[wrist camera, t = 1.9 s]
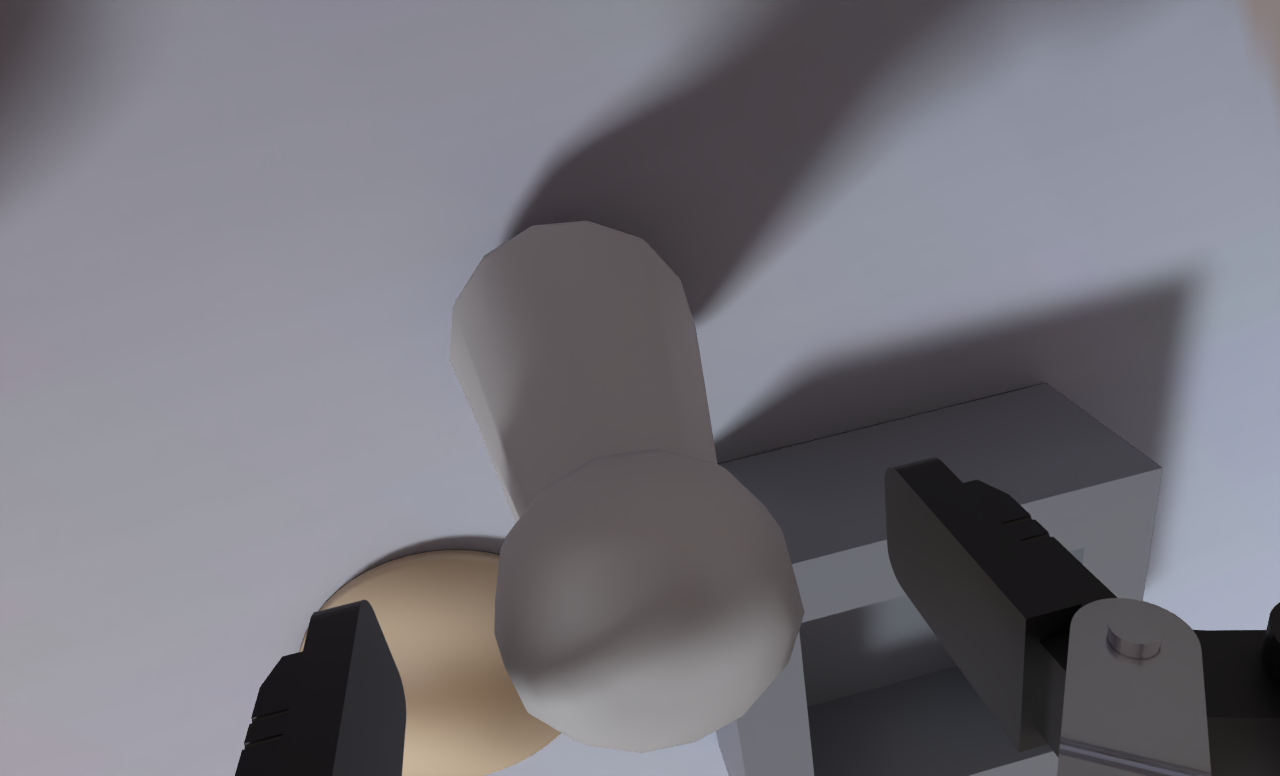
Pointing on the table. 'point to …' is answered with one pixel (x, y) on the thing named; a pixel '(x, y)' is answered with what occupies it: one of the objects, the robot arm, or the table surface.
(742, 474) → the well
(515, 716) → the cork coaster
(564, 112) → the table surface
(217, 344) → the table surface
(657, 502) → the salt shaker
